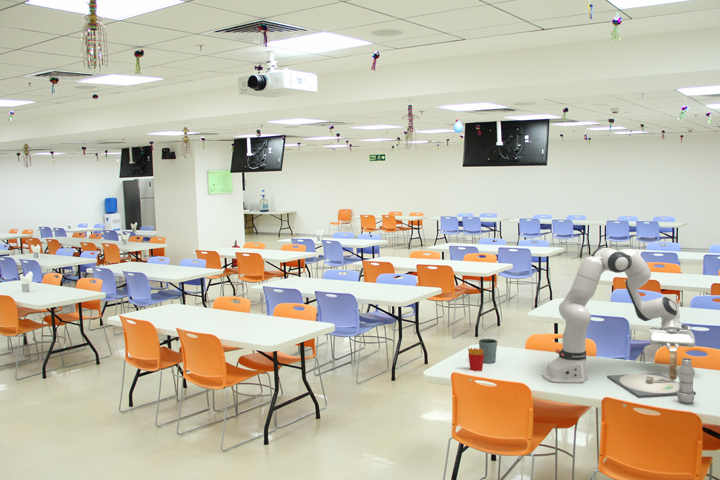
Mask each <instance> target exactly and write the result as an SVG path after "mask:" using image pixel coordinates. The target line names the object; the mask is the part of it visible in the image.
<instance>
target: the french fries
mask: <svg viewBox="0 0 720 480" xmlns="http://www.w3.org/2000/svg"><path fill="white" fill-rule="evenodd" d="M467 350H468V361H469V370H470V371H474V372H482V371H483V367H484V363H483V358H484V354H483V350H482V351H481V349H480V348H479V347H478V348H476V347H474V348H472V347H471V348H469V347H468V348H467Z"/></svg>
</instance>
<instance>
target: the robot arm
mask: <svg viewBox="0 0 720 480" xmlns="http://www.w3.org/2000/svg"><path fill="white" fill-rule="evenodd" d="M605 271H609V272H613V273H616V274H617V273H618V274H619V273H625V275H626V277H627V279H625V287H626V290H627V292H628V295H629V298H630V301H631V303H632V305H633V306H634V307H633V308H634V310H635V311H634V312H635V314H636V316H637V318H639V319H640V320H641V321H644V322H648V321H650V320H653V319H654V320H655V319H659V318H660V319H661V322H660V326H661V327H651V328H649V329H648V334H649V335H650V337H649V343H650V344H651V345H656V346H657V345H658V346H666V348H667V349H668V350H669V351H668V352H669V353H670V352H676V353H677V350H678V348H679V347H683V348H684V347H685V348H694V347H695V346H696V339H695V335H694V333H693V331H692V326H690V325H687V324H684V323H681V321H680V317H681V315H680V310H679V305H678V303H677V302H676V300H674V299H671V298H669V297H667V296H661V297H657V298H654V299H650V300H643V299H642V297H641V295H640V293H639V289H640V288H641V287H643V286H644V285H646V284H647V283H648V281H649V280H650V278H651V277H652V276H651V275H652V271H651V269H650V267H649V265H648V263H647V262H646V261H645V259H644V258H643V257H642V256H641V255H640V254H639V253H638V252H637V251H636V250H635V249H632V248H629V249H625V250H623V251H620V250H617V249H616V248H610V247H607V246H600V247H598V248H596V249H595V250H594V252H593V253H592V254H591V255H590V256H586V257H585V258H584V259H583V261H582V262H581V264H580V266H579V268H578V270H577V272H576V275H575V278H574V280H573V282H572V285H571V287H570V289H569V291H568V293H567V295H566V296H565V298H564V299H563V300H562V301H561V302H560V304H559V305H558V311H559V315H560V316H561V317H562V318H563V320H565V326H564V327H565V328H564V331H563V333H562V348H561V350H560V349H558V348H557V349H555V353H556V354H557V355H558V356H557V357H556V358H555V359H553V360H552V361H550V362H549V363H548V365H547V368H546V371H543V372H542V373H541V375H542V377H543V378H544V379H545V380H547V381H549V382H551V383H558V384H559V383H560V384H561V383H563V384H564V383H565V384H566V383H567V384H568V383H569V384H570V383H571V384H572V383H573V384H574V383H576V384H579V383H580V384H581V383H585V382H586V381H587V380H588V379H589V375H588V372H587V363H586V362H587V350H586V336H587V333H588V331H587V330H588V327H589V325H590V323H591V321H592V320H591V319H592V315H591V313H590V311H589V309H588V308H587V307H586V306H587V304H588V302H590V300H591V298H592V297H594V295H595V293H596V291H597V287H598V285H599V282H600V280H601V276H602V274H603V273H604V272H605ZM671 346H672V347H673V348H672V347H671Z"/></svg>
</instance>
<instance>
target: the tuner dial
mask: <svg viewBox="0 0 720 480" xmlns="http://www.w3.org/2000/svg"><path fill="white" fill-rule="evenodd" d="M646 377H652V378H653V379H667V378H669V376H666V375H665V374H663V373H661V372H645V373H626V374H611V375H606V378H607V379H608V380H610V381H612V382H613V383H614V384H616V385H618V386H619V387H621V388H623V389H624V390H625V391H627V393H630V394H631V395H633V396H635V397H636V398H638V399H643V398H644V399H645V397H647V398H662V397H677V394H678V390H679V381H676V380H674V381H657V382H653V383H647V382H646ZM693 393H694V396H695V395H696V394H697V393H696V391H695V390H693Z"/></svg>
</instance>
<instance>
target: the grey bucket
mask: <svg viewBox="0 0 720 480" xmlns="http://www.w3.org/2000/svg"><path fill="white" fill-rule="evenodd" d="M497 346H498V340H496V339H494V338H481V339H479V340H478V349H479V348H480V349H481V351H482V350H483V354H484V358H483V364H487V365H488V364H489V365H491V364H496V361H497V359H496V358H497Z"/></svg>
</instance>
